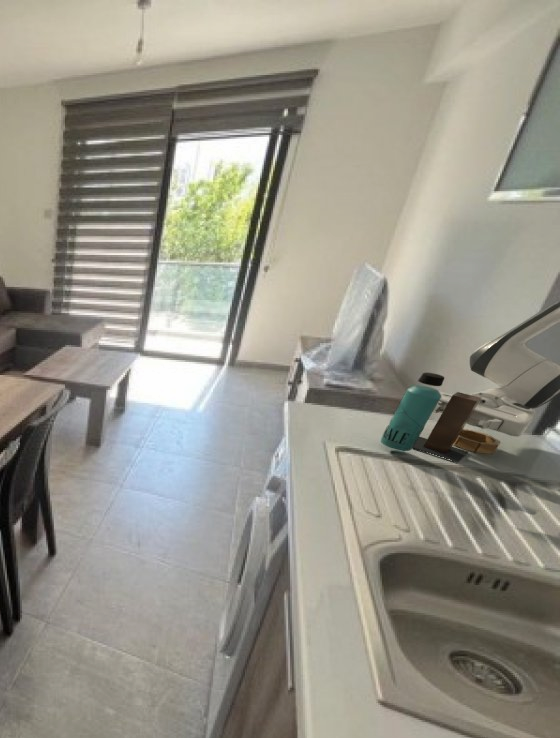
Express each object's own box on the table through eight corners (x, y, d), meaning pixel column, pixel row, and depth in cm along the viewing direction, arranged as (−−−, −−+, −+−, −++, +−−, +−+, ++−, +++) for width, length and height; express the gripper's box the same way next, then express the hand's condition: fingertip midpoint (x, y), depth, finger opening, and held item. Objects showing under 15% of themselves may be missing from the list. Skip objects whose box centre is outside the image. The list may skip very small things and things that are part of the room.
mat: (467, 453, 120) (468, 451, 120) (456, 463, 115) (457, 462, 114) (417, 437, 127) (418, 436, 127) (405, 446, 122) (406, 445, 121)
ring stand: (498, 447, 123) (503, 439, 122) (489, 457, 118) (495, 448, 117) (450, 433, 130) (455, 425, 129) (440, 441, 125) (446, 433, 124)
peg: (450, 449, 120) (481, 397, 114) (445, 453, 118) (477, 401, 111) (428, 442, 123) (457, 391, 117) (422, 446, 121) (452, 395, 114)
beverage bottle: (407, 449, 120) (449, 373, 111) (411, 459, 115) (456, 381, 106) (375, 441, 123) (413, 367, 114) (378, 451, 118) (418, 375, 109)
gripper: (440, 383, 129) (413, 389, 123) (545, 412, 113) (520, 421, 107) (428, 404, 132) (401, 411, 126) (529, 436, 116) (503, 446, 110)
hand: (456, 416), depth 117 cm, fingers open, 8 cm apart
